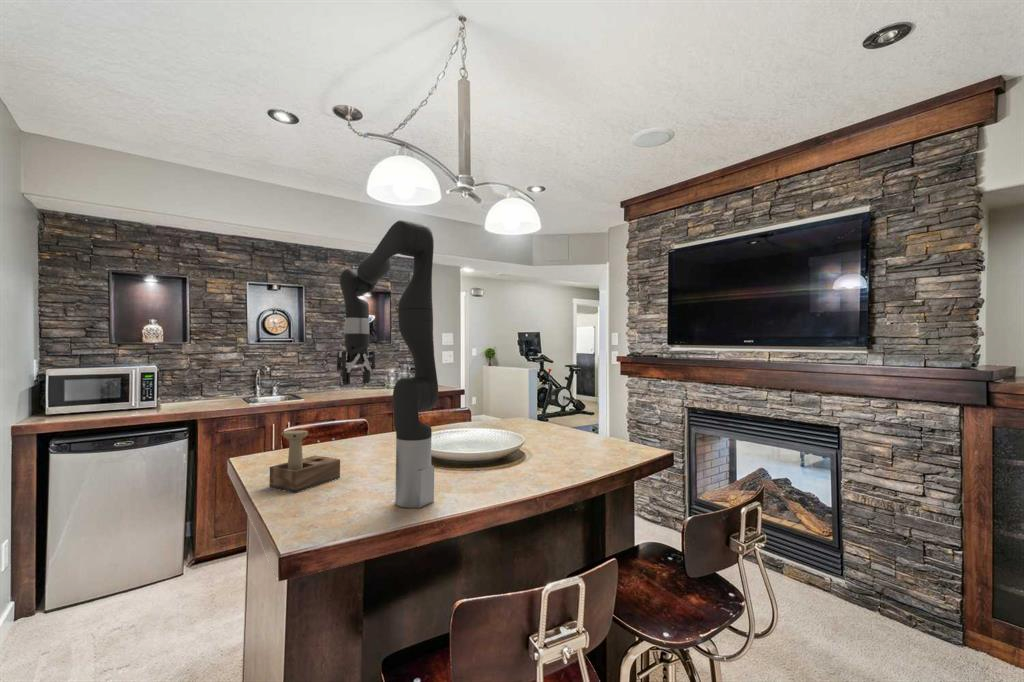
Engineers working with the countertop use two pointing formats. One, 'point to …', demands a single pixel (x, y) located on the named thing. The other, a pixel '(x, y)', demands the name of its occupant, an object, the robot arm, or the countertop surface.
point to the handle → (295, 448)
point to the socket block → (305, 474)
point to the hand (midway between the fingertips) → (356, 383)
